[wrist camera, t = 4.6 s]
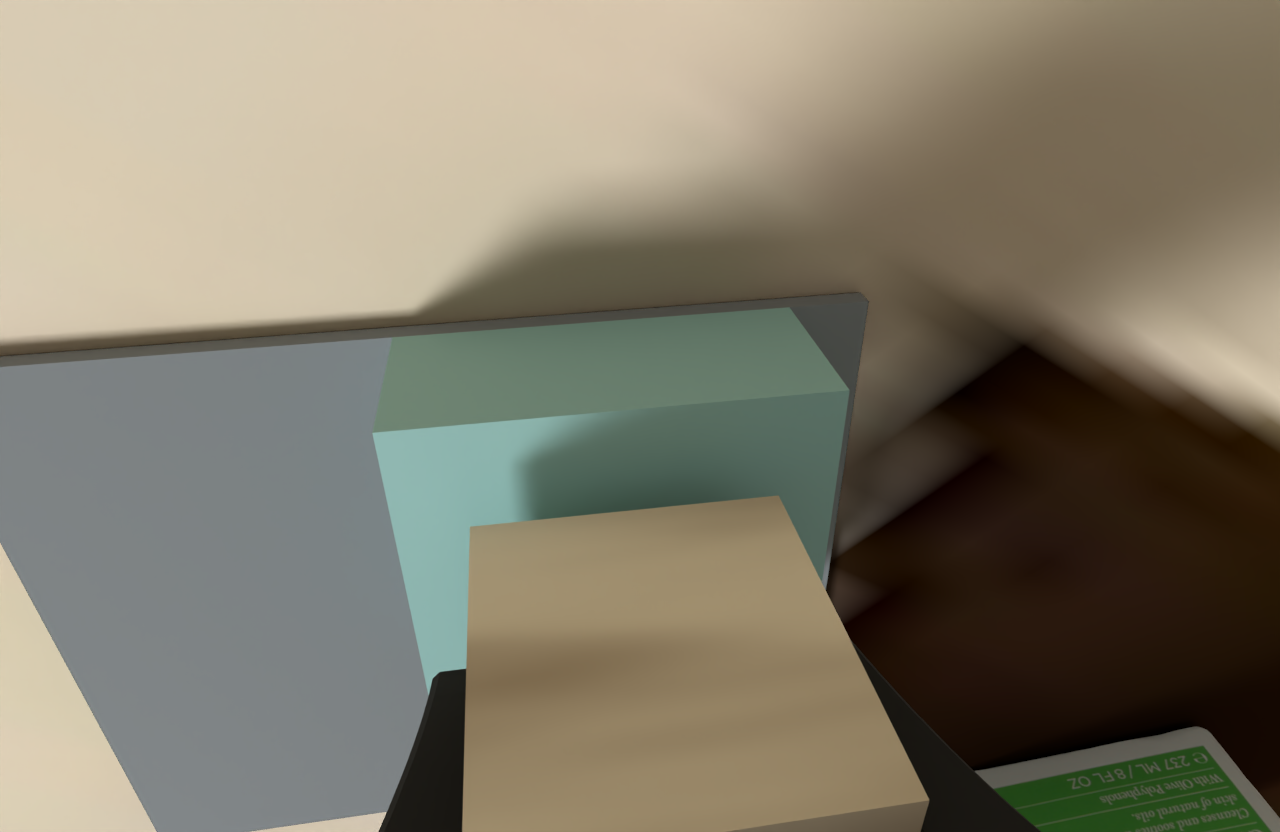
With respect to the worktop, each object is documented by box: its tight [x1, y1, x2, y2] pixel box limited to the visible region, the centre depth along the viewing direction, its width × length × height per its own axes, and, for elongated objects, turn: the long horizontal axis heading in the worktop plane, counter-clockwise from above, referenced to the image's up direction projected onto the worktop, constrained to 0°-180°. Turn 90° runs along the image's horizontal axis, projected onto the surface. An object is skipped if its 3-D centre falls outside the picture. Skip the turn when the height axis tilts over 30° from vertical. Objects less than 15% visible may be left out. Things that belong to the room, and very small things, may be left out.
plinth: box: [372, 307, 850, 695], centre depth 15 cm, size 7×7×3 cm
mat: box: [0, 293, 869, 832], centre depth 18 cm, size 13×16×1 cm
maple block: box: [462, 495, 929, 832], centre depth 11 cm, size 4×4×5 cm
